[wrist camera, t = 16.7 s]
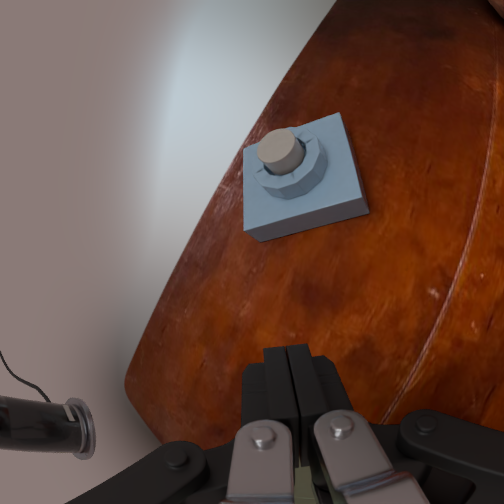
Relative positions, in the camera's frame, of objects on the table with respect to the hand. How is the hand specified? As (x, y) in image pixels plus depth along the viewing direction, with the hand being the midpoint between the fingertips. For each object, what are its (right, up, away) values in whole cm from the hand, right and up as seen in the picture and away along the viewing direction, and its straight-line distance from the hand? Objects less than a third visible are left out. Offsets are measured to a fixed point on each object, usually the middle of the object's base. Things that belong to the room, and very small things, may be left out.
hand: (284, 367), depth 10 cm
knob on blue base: (+4, +11, +20) cm, 23 cm away
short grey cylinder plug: (+2, +12, +16) cm, 20 cm away
